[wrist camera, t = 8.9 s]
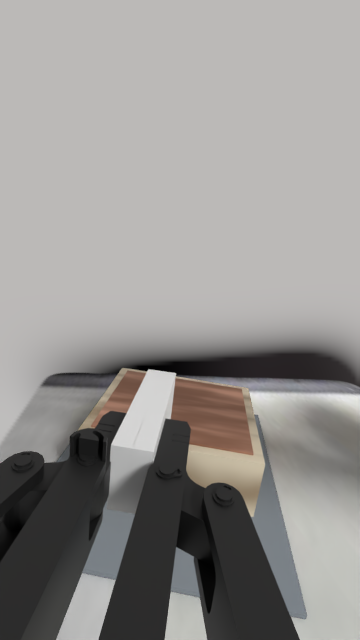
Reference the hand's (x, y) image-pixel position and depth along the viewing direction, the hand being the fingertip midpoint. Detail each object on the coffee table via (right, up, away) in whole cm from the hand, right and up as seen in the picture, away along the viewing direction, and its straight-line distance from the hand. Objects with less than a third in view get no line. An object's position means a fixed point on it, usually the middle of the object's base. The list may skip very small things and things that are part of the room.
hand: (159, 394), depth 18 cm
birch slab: (0, -11, +14) cm, 18 cm away
